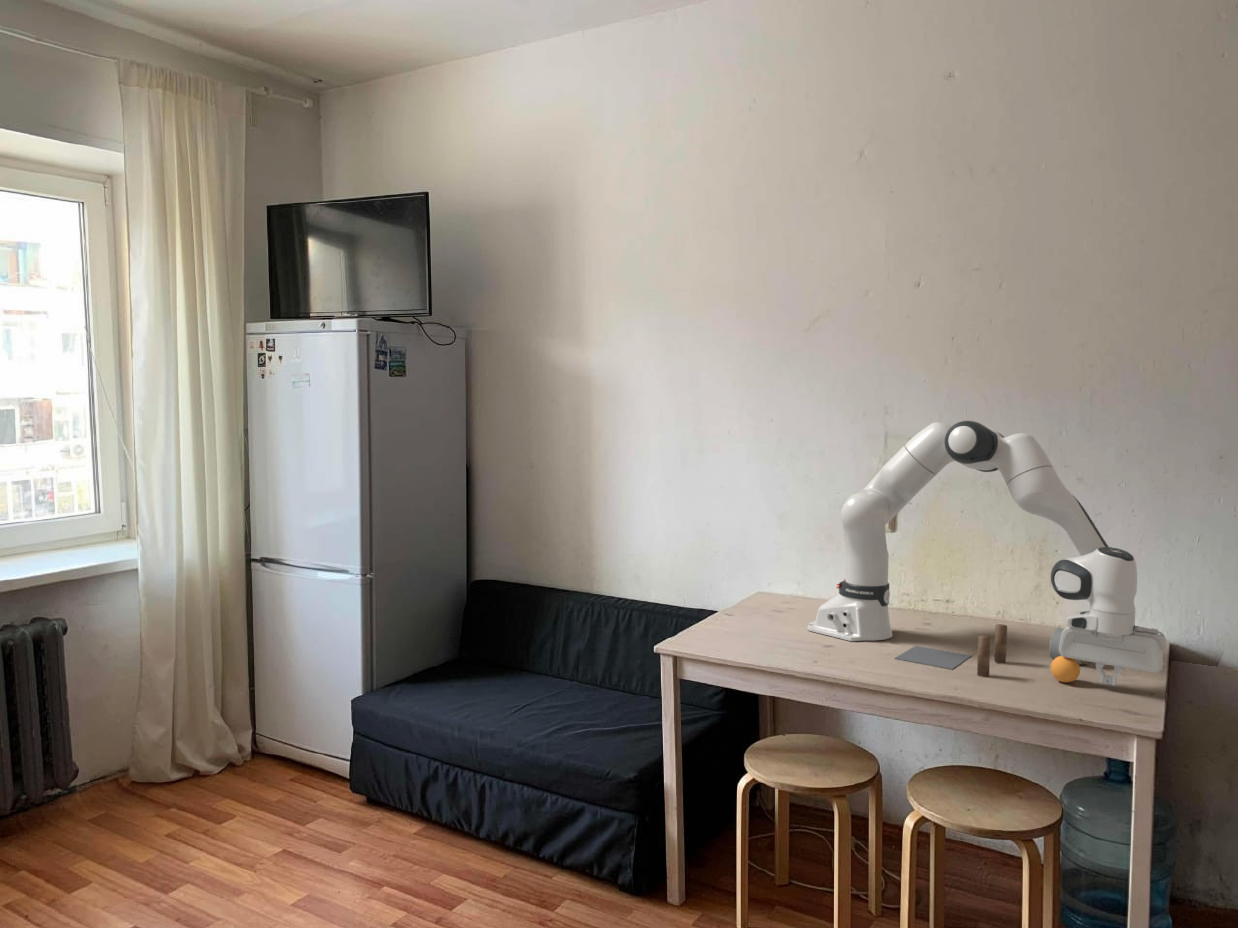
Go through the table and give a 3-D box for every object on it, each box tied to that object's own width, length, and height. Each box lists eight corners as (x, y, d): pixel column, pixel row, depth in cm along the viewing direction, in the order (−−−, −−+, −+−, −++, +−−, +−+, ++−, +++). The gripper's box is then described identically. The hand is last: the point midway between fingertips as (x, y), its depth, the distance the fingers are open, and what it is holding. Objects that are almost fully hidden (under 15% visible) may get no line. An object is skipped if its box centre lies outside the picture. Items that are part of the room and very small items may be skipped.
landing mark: (894, 658, 228) (894, 657, 228) (915, 646, 238) (915, 645, 238) (952, 669, 219) (952, 668, 219) (971, 656, 230) (971, 655, 230)
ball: (1047, 682, 210) (1048, 656, 209) (1053, 675, 214) (1054, 650, 214) (1076, 687, 206) (1077, 661, 205) (1082, 681, 211) (1083, 655, 210)
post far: (992, 662, 225) (994, 625, 224) (996, 659, 227) (997, 623, 226) (1003, 664, 223) (1005, 627, 223) (1007, 661, 225) (1008, 625, 225)
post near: (975, 675, 215) (977, 637, 214) (979, 672, 217) (980, 634, 216) (987, 677, 213) (988, 639, 212) (990, 674, 215) (992, 636, 214)
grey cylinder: (1082, 668, 220) (1084, 636, 220) (1047, 661, 226) (1049, 630, 226) (1099, 660, 228) (1100, 629, 227) (1064, 653, 234) (1066, 623, 233)
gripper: (1168, 627, 199) (1164, 690, 201) (1065, 612, 212) (1062, 671, 213) (1163, 633, 194) (1159, 697, 196) (1058, 617, 207) (1055, 678, 208)
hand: (1108, 683), depth 205 cm, fingers closed
